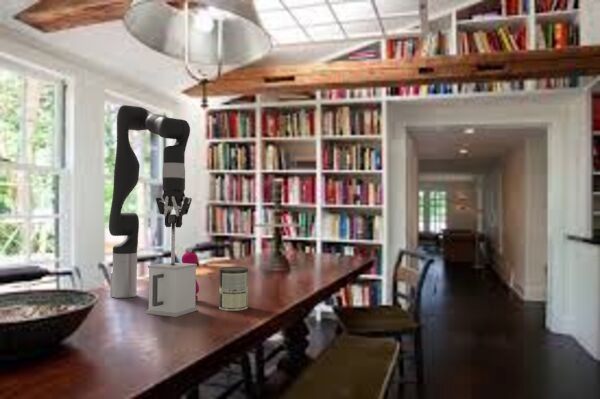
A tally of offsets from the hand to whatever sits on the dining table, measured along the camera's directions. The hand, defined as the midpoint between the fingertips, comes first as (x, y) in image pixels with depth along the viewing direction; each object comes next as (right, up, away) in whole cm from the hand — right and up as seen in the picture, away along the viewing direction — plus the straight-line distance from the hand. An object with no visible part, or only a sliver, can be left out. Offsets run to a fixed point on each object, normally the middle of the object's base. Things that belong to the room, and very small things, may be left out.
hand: (173, 227), depth 175 cm
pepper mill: (+1, -29, +20) cm, 35 cm away
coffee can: (+20, -29, +7) cm, 36 cm away
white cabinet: (-1, -29, -2) cm, 29 cm away
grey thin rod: (0, -17, 0) cm, 17 cm away
